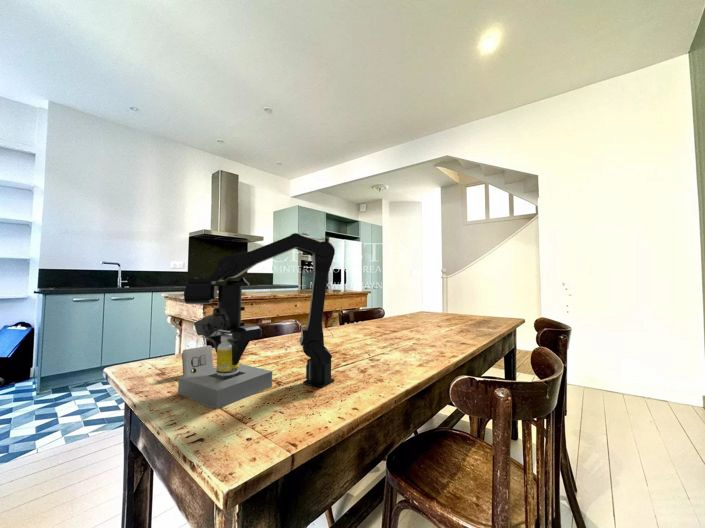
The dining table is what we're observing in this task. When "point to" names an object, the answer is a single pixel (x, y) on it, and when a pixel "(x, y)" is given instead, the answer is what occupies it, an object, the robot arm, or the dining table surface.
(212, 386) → the socket block
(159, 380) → the dining table surface
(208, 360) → the electrical switch
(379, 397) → the dining table surface
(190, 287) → the robot arm
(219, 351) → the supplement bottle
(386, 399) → the dining table surface
